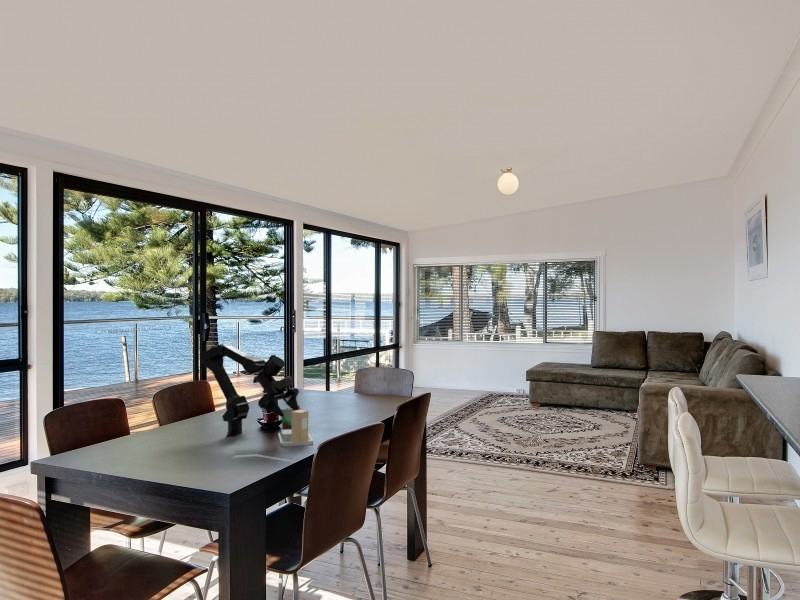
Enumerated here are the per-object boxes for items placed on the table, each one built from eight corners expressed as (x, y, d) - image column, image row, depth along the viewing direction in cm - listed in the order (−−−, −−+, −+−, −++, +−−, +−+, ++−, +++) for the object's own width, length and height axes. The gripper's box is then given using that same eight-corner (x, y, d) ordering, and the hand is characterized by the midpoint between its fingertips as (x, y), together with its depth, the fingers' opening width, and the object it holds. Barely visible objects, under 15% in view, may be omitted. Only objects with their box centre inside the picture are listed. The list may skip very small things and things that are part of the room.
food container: (295, 434, 236) (294, 410, 236) (281, 433, 238) (281, 409, 238) (305, 427, 249) (305, 404, 249) (292, 427, 250) (292, 404, 250)
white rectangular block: (281, 436, 230) (281, 430, 230) (292, 435, 231) (292, 429, 231) (282, 440, 222) (282, 434, 222) (294, 440, 223) (294, 433, 223)
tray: (278, 437, 231) (278, 432, 231) (308, 435, 234) (308, 430, 234) (280, 448, 213) (280, 443, 213) (313, 446, 216) (313, 441, 216)
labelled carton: (291, 442, 219) (291, 411, 219) (299, 440, 223) (299, 409, 223) (301, 444, 216) (301, 412, 217) (308, 441, 220) (308, 410, 220)
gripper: (263, 373, 216) (286, 404, 211) (295, 367, 233) (317, 396, 227) (248, 392, 220) (270, 423, 215) (280, 386, 236) (301, 415, 231)
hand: (291, 414), depth 222 cm, fingers open, 9 cm apart
